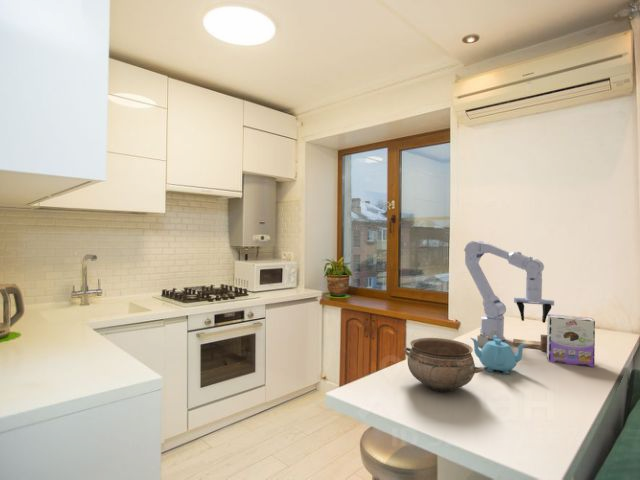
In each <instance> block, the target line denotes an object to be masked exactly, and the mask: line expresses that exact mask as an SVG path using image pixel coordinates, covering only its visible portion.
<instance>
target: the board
mask: <svg viewBox="0 0 640 480" xmlns="http://www.w3.org/2000/svg"><path fill="white" fill-rule="evenodd" d="M525 343H527V344H526V345H525V346H524V347H523V348H526V349H527V348H529V349H537V350H540V344H541V341H536V340H528V339H517V338H513V345H514V347H517V348H519V346H520V345H521V344H525Z"/></svg>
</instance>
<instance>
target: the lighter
mask: <svg viewBox="0 0 640 480" xmlns="http://www.w3.org/2000/svg"><path fill="white" fill-rule="evenodd" d="M496 332H497V330H495V329H492V331H491V333H490V334H489V336H486V334H483V333H479V334H478V335H477V338H476V340H477V342H478V347H480V348H483V347H484V345H485V344H486V343H487V342H489V341H490V340H493V339H492V338H493V335H494V334H495V333H496Z"/></svg>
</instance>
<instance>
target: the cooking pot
mask: <svg viewBox="0 0 640 480" xmlns="http://www.w3.org/2000/svg"><path fill="white" fill-rule="evenodd" d="M409 344H410V346H411V348H410V347H404V348H403V349H402V351H403V352H404V354H405V355H406V356H407V367H408V370H409V372H410V373H411V376H413V377H414V378H415V379H416V380H417V381H419V383H421V384H423V385H425V386H426V387H428V388H429V389H431V390H433V391H436V392H440V393H441V392H442V393H443V392H445V393H448V392H451V391H453V390H455V389H459V388H462V387H463V386H466V385H467V384H469V383H470V382H471V381H472V379H473V377H474V376H475V374H478V373H481V372H483V371H484V370H485V368H484V367H483V366H480V367H478V366H475V365H476V364H475V360H474V357H473V355H472V352H473V351H474V349H473V347H472V346H470V344H468V343H465V342H461V341H458V340H454V339H450V338H441V337H440V338H439V337H423V338H422V337H421V338H416V339H413V340H411V341H410V343H409Z"/></svg>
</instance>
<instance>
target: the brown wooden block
mask: <svg viewBox="0 0 640 480" xmlns="http://www.w3.org/2000/svg"><path fill="white" fill-rule="evenodd" d="M540 342H541V344H540V349H539V350H540V351H541V352H542V353H547V334H540Z"/></svg>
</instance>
